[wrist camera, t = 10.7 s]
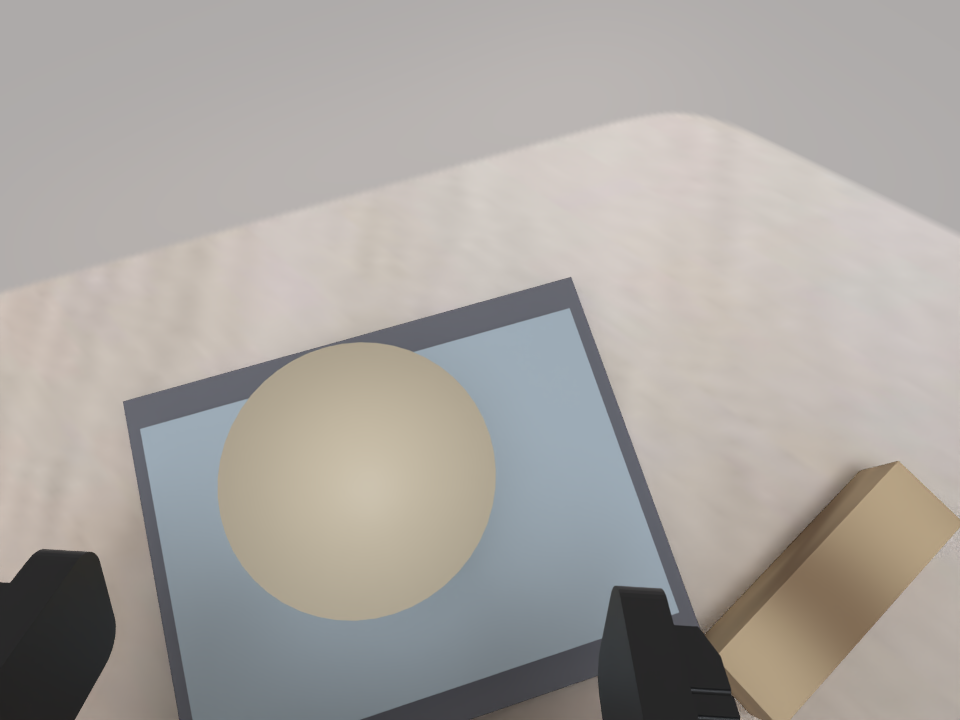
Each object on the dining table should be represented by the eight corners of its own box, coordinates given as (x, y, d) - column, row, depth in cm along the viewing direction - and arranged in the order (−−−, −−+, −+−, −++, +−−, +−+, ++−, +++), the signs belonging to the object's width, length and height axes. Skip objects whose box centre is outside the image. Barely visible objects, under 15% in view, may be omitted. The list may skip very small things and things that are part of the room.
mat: (569, 281, 25) (570, 277, 24) (699, 638, 22) (703, 639, 21) (128, 404, 23) (123, 401, 23) (201, 809, 20) (196, 813, 20)
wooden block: (856, 471, 24) (898, 460, 21) (913, 527, 23) (963, 522, 21) (688, 648, 22) (715, 656, 20) (747, 712, 22) (781, 728, 19)
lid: (564, 318, 24) (648, 120, 14) (669, 611, 22) (871, 647, 11) (153, 435, 23) (-113, 314, 12) (214, 762, 20) (-55, 974, 10)
